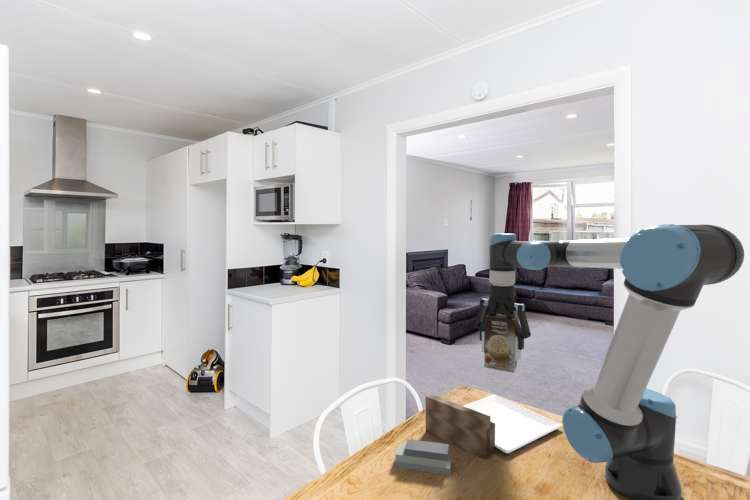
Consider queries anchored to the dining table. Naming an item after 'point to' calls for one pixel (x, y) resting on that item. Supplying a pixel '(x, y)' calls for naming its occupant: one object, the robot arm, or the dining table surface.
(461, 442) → the walnut block
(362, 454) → the dining table surface
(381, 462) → the dining table surface
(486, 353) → the coffee box
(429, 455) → the sleeved eraser
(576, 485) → the dining table surface
